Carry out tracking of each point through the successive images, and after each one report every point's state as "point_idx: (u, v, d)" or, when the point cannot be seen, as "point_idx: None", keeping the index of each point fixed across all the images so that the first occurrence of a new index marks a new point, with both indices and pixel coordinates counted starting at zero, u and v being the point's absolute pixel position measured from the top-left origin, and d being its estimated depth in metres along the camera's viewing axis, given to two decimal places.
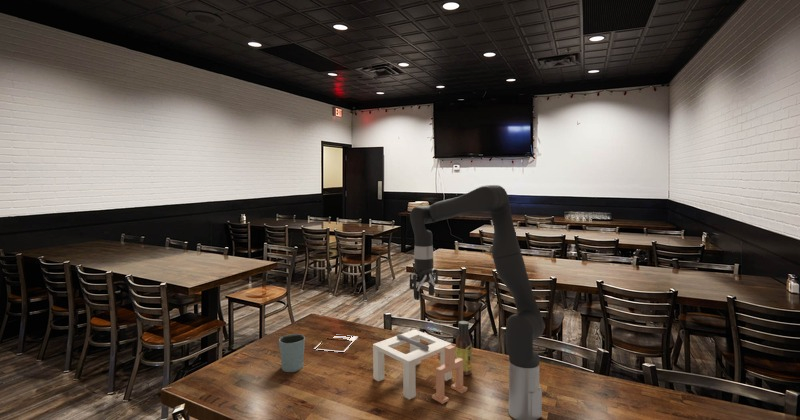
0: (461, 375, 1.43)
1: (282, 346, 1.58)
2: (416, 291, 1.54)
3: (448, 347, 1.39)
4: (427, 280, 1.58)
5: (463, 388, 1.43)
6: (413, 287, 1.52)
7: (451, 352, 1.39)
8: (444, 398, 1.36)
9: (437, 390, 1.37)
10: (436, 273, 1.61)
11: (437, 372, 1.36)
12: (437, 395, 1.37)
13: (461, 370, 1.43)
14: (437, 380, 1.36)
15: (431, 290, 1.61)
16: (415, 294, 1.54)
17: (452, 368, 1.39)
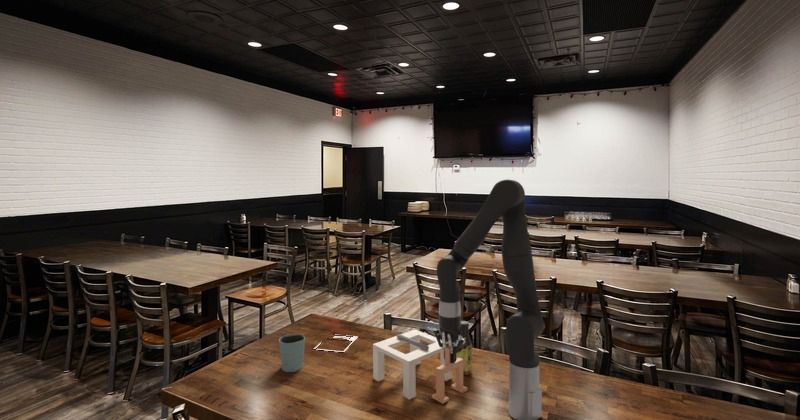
0: (461, 375, 1.43)
1: (282, 346, 1.58)
2: None
3: (448, 347, 1.39)
4: None
5: (463, 388, 1.42)
6: (460, 349, 1.37)
7: None
8: (444, 398, 1.36)
9: (437, 390, 1.37)
10: None
11: (437, 372, 1.36)
12: (437, 395, 1.37)
13: (461, 370, 1.43)
14: (437, 380, 1.36)
15: None
16: (455, 357, 1.38)
17: (452, 368, 1.39)
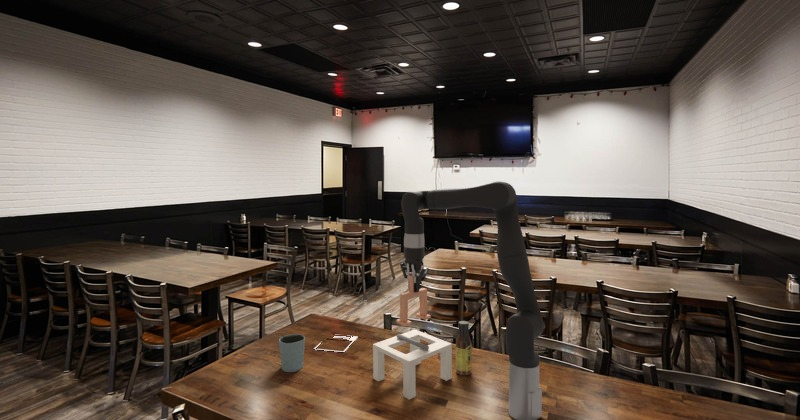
0: (425, 303, 1.52)
1: (282, 346, 1.58)
2: (419, 282, 1.48)
3: None
4: None
5: (426, 315, 1.52)
6: (423, 278, 1.46)
7: None
8: (407, 321, 1.45)
9: (401, 314, 1.46)
10: None
11: (401, 297, 1.45)
12: (401, 319, 1.46)
13: (425, 299, 1.52)
14: (401, 305, 1.46)
15: None
16: (418, 286, 1.47)
17: (416, 295, 1.49)
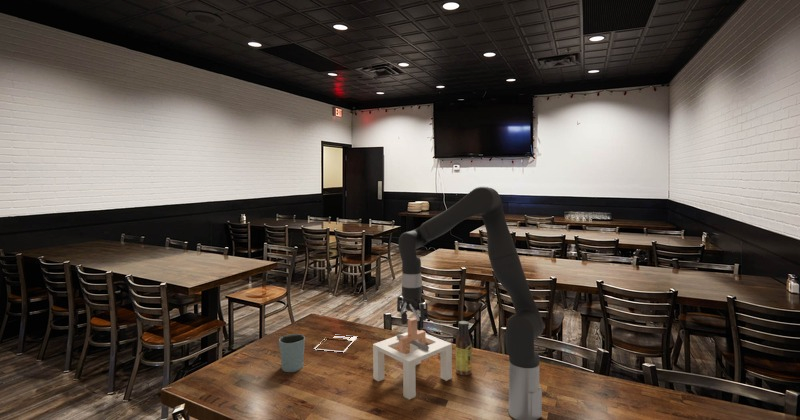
0: None
1: (282, 346, 1.58)
2: None
3: (411, 319, 1.50)
4: None
5: None
6: (427, 316, 1.46)
7: (413, 324, 1.49)
8: None
9: None
10: None
11: (400, 342, 1.47)
12: (399, 363, 1.48)
13: (423, 341, 1.54)
14: (399, 349, 1.47)
15: (405, 319, 1.53)
16: (422, 324, 1.47)
17: (414, 339, 1.50)
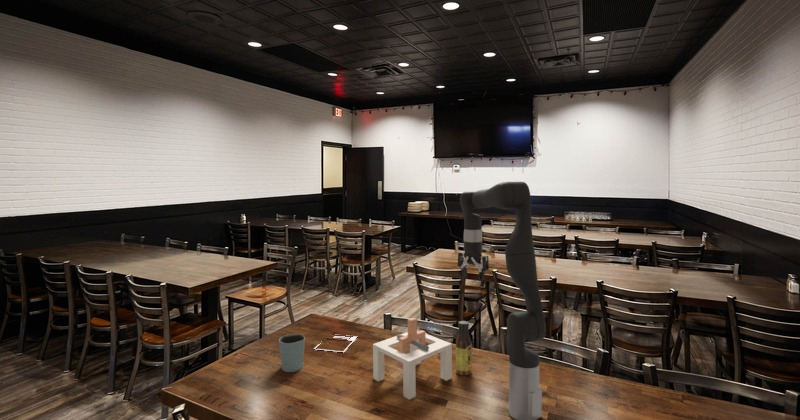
0: None
1: (282, 346, 1.58)
2: None
3: (410, 319, 1.50)
4: None
5: None
6: (488, 268, 1.61)
7: (413, 324, 1.49)
8: None
9: None
10: None
11: (400, 342, 1.47)
12: (400, 363, 1.48)
13: (423, 341, 1.54)
14: (400, 349, 1.47)
15: (465, 272, 1.69)
16: (483, 275, 1.62)
17: (414, 339, 1.50)
